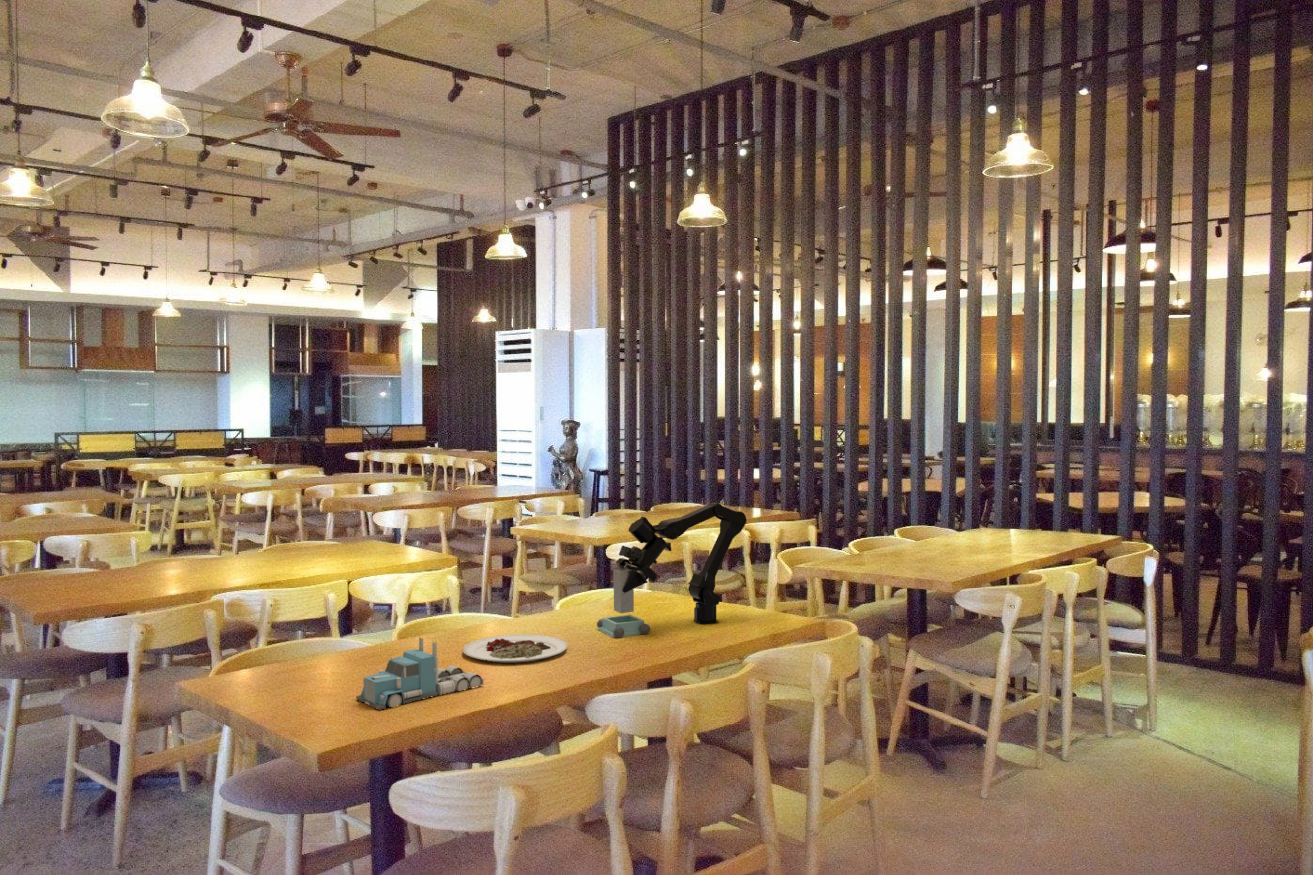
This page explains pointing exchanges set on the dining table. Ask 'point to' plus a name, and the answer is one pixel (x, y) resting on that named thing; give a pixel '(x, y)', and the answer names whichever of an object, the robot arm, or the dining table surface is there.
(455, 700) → the dining table surface
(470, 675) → the truck
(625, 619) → the chassis
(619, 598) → the grey upright pillar
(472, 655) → the plated food
